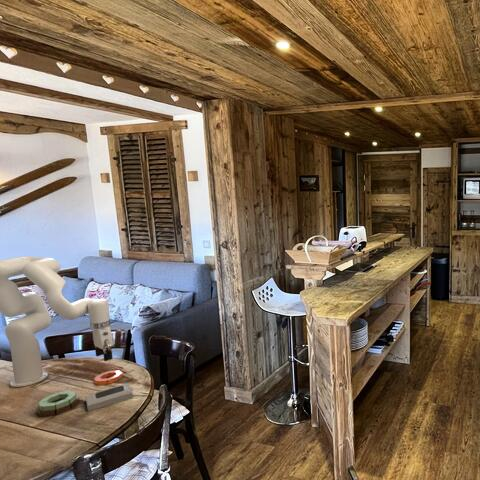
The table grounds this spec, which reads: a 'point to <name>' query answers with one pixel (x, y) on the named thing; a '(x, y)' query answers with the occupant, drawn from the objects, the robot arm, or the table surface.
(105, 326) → the robot arm
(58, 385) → the table surface
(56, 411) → the walnut ring
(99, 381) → the terracotta ring
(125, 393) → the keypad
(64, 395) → the green ring
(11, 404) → the table surface
